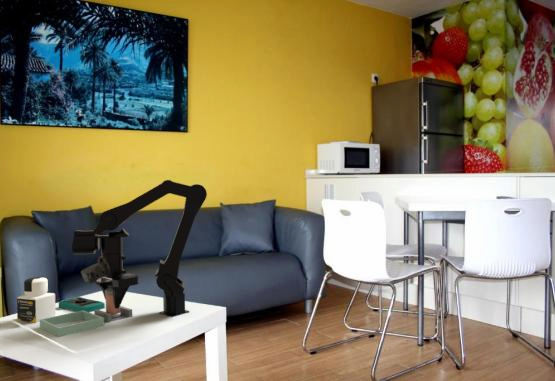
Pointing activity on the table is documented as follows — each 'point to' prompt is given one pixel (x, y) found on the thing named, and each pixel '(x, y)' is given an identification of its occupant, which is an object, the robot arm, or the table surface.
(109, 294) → the fuse
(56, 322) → the tray
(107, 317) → the grey cradle stand
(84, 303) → the digital multimeter
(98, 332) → the table surface
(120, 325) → the table surface
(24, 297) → the medicine bottle
